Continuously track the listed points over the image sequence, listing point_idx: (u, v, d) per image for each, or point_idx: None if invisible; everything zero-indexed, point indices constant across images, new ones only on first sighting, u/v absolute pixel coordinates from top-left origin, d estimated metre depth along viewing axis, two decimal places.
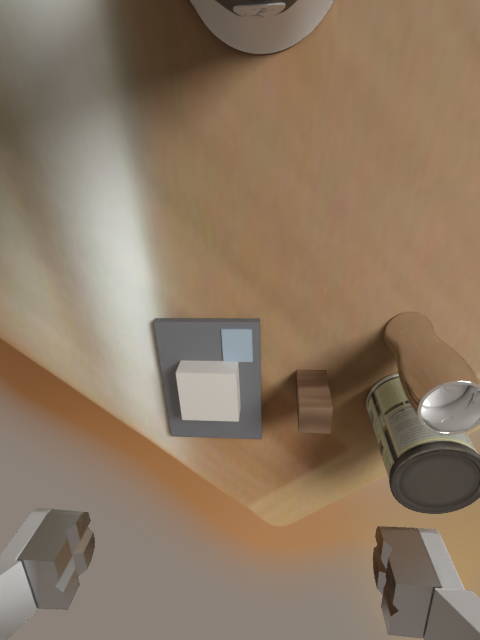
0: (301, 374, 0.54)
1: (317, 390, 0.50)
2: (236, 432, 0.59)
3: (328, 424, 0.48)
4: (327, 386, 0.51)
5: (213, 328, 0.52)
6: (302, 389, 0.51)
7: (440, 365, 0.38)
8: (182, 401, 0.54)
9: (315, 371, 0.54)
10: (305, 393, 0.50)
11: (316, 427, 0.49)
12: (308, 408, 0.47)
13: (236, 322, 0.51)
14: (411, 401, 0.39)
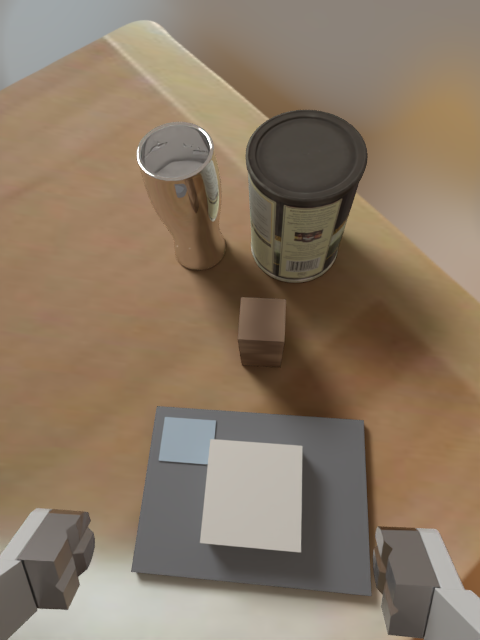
0: None
1: None
2: (353, 461, 0.36)
3: (268, 302, 0.35)
4: None
5: (156, 472, 0.36)
6: None
7: None
8: (259, 542, 0.31)
9: None
10: None
11: (274, 317, 0.34)
12: (239, 327, 0.34)
13: (153, 437, 0.38)
14: (179, 195, 0.33)
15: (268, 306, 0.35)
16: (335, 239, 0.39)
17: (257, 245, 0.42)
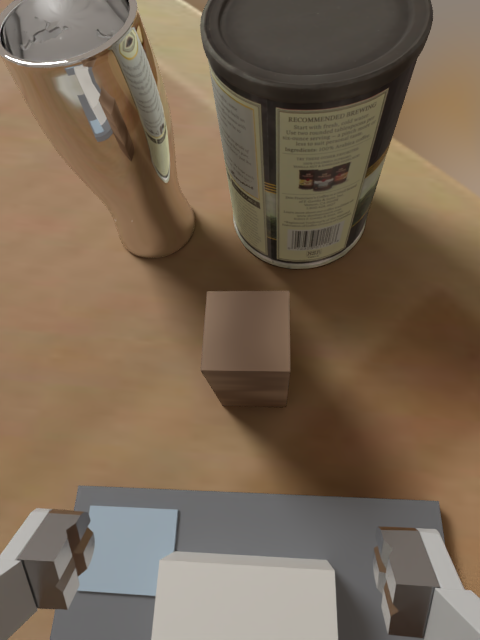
0: None
1: None
2: None
3: (257, 297, 0.19)
4: None
5: (72, 613, 0.20)
6: None
7: None
8: None
9: None
10: None
11: (269, 325, 0.18)
12: (204, 347, 0.18)
13: None
14: (77, 102, 0.18)
15: (257, 305, 0.19)
16: (368, 188, 0.23)
17: (239, 210, 0.26)
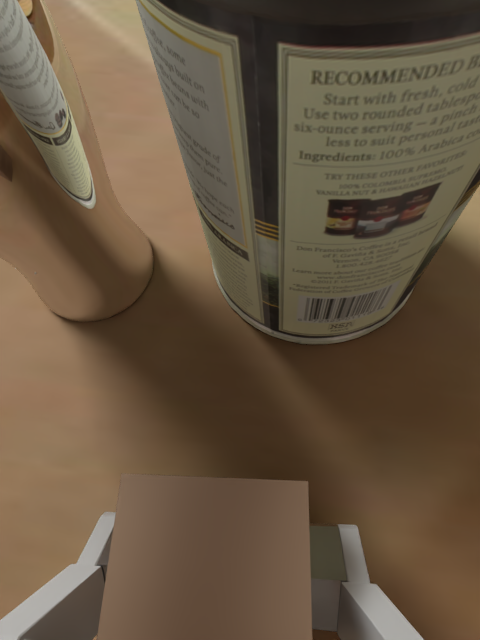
0: None
1: None
2: None
3: (233, 497, 0.08)
4: None
5: None
6: None
7: None
8: None
9: None
10: None
11: (262, 582, 0.07)
12: (102, 639, 0.07)
13: None
14: None
15: (233, 520, 0.08)
16: (450, 226, 0.12)
17: (216, 256, 0.15)
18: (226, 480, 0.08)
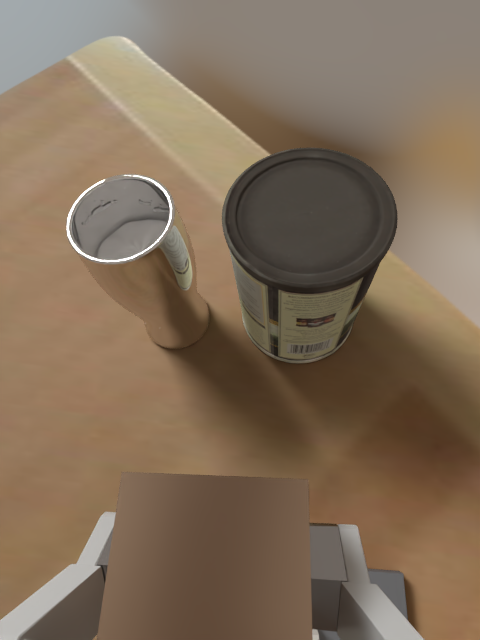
0: None
1: None
2: None
3: (233, 495, 0.08)
4: None
5: None
6: None
7: None
8: None
9: None
10: None
11: (262, 580, 0.07)
12: (102, 637, 0.07)
13: None
14: (129, 279, 0.23)
15: (234, 518, 0.08)
16: (352, 316, 0.29)
17: (248, 321, 0.32)
18: (226, 478, 0.08)
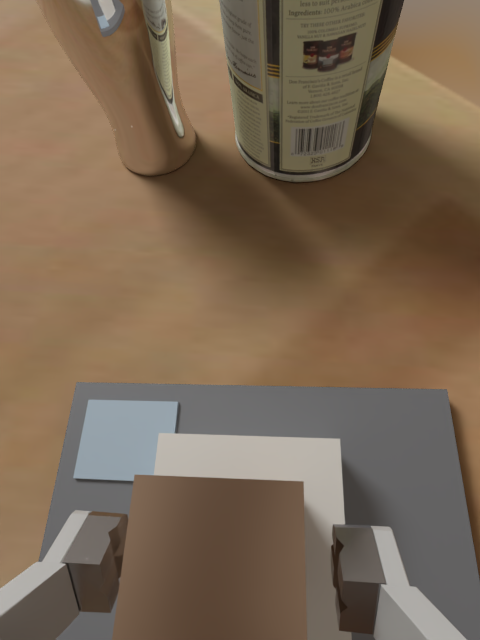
0: None
1: None
2: (436, 467, 0.19)
3: (236, 495, 0.09)
4: None
5: (69, 500, 0.20)
6: None
7: None
8: None
9: None
10: None
11: (261, 572, 0.08)
12: (118, 622, 0.08)
13: (67, 436, 0.21)
14: None
15: (236, 516, 0.09)
16: (374, 79, 0.22)
17: (242, 115, 0.26)
18: (229, 480, 0.09)
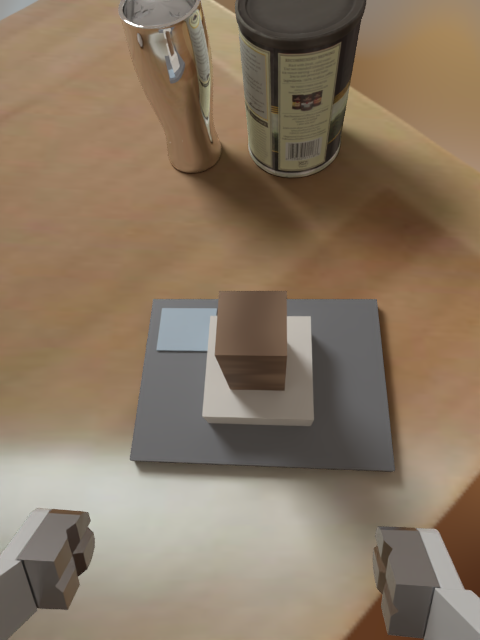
0: None
1: None
2: (367, 340, 0.33)
3: (260, 296, 0.23)
4: None
5: (154, 362, 0.34)
6: None
7: None
8: (267, 412, 0.28)
9: None
10: None
11: (270, 319, 0.22)
12: (217, 336, 0.22)
13: (150, 329, 0.35)
14: (166, 50, 0.31)
15: (260, 303, 0.23)
16: (336, 113, 0.36)
17: (254, 133, 0.40)
18: (257, 292, 0.23)
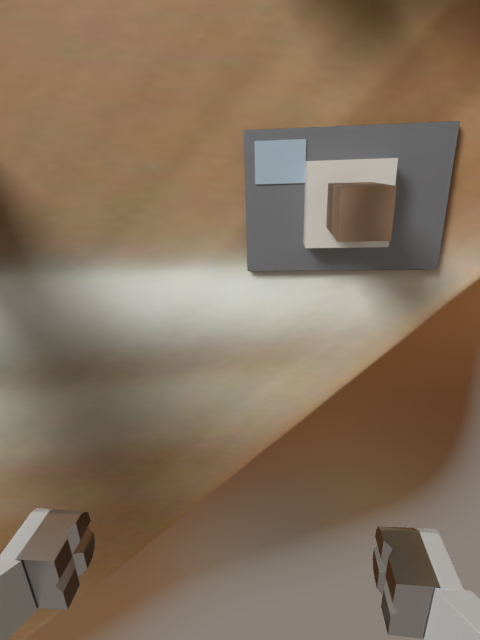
0: (327, 222, 0.37)
1: (333, 205, 0.33)
2: (440, 165, 0.38)
3: (374, 191, 0.29)
4: (333, 187, 0.33)
5: (255, 195, 0.40)
6: (332, 228, 0.34)
7: None
8: (354, 243, 0.38)
9: (327, 199, 0.37)
10: (333, 225, 0.33)
11: (381, 212, 0.29)
12: (339, 227, 0.30)
13: (245, 163, 0.39)
14: None
15: (374, 197, 0.29)
16: None
17: None
18: (372, 187, 0.29)
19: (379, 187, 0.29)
